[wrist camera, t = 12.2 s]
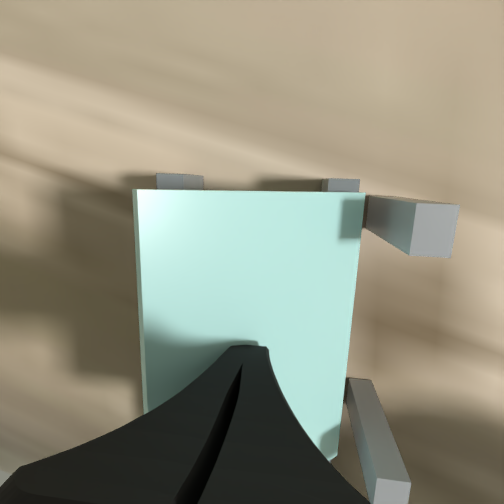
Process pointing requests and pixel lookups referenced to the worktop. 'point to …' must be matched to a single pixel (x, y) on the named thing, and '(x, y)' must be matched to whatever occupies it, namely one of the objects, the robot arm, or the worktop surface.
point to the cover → (249, 291)
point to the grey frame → (362, 391)
